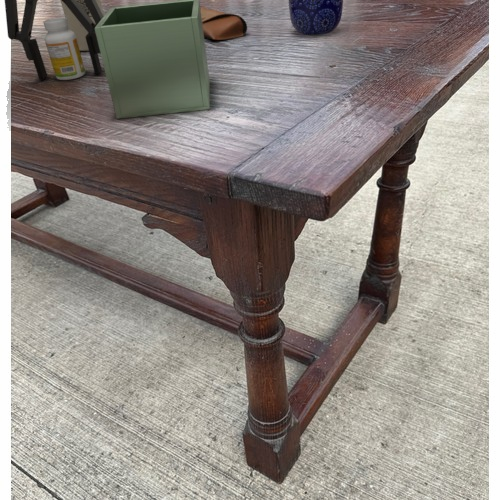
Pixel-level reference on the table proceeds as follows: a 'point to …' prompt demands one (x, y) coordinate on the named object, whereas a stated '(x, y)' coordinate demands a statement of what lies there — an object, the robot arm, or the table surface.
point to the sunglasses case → (222, 25)
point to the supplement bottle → (63, 49)
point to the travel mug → (76, 25)
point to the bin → (155, 58)
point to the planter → (315, 15)
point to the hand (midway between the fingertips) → (70, 74)
